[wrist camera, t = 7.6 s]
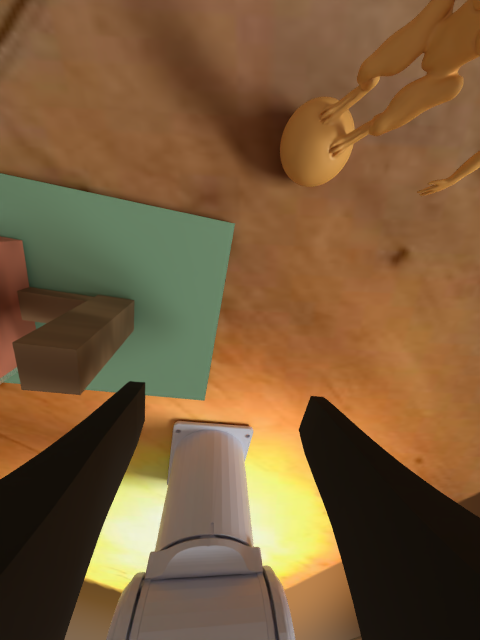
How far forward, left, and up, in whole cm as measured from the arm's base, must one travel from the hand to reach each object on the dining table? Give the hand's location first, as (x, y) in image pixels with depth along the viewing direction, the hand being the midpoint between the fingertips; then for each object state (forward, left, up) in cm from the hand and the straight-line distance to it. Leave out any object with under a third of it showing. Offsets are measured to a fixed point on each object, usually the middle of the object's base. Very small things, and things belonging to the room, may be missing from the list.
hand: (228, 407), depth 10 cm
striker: (0, +11, -8) cm, 14 cm away
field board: (0, +11, -10) cm, 15 cm away
